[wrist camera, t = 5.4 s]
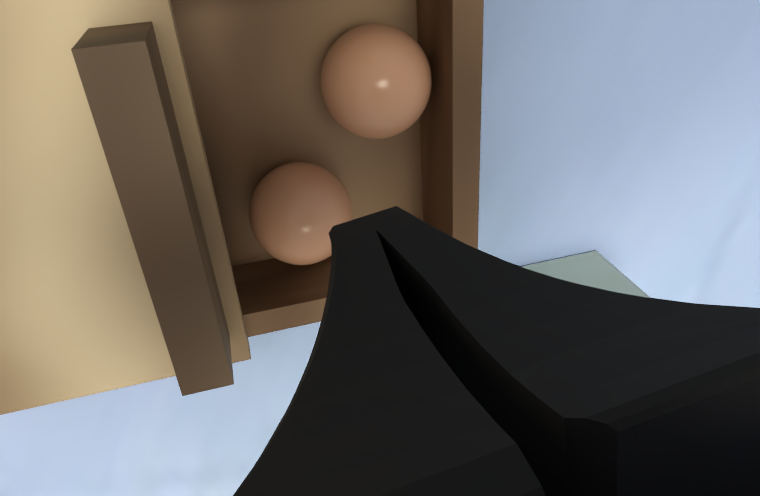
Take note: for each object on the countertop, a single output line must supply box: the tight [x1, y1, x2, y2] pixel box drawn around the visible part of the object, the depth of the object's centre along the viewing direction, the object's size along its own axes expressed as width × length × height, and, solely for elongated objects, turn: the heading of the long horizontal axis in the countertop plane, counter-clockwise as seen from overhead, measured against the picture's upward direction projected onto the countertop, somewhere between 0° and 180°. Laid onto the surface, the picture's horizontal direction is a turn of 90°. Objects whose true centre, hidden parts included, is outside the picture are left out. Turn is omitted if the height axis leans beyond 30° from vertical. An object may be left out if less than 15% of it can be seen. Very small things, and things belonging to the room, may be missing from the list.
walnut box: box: [170, 0, 484, 337], centre depth 17 cm, size 12×10×4 cm
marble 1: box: [249, 162, 353, 265], centre depth 17 cm, size 3×3×3 cm
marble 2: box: [320, 23, 432, 139], centre depth 16 cm, size 3×3×3 cm
